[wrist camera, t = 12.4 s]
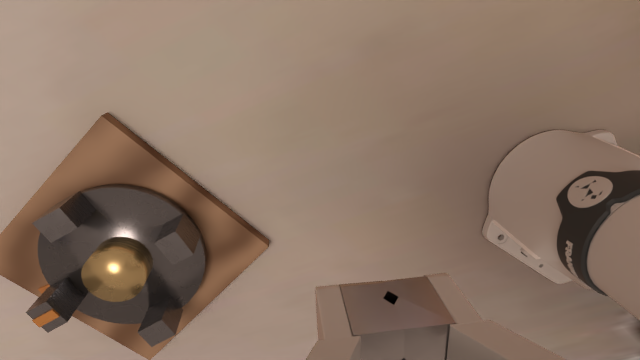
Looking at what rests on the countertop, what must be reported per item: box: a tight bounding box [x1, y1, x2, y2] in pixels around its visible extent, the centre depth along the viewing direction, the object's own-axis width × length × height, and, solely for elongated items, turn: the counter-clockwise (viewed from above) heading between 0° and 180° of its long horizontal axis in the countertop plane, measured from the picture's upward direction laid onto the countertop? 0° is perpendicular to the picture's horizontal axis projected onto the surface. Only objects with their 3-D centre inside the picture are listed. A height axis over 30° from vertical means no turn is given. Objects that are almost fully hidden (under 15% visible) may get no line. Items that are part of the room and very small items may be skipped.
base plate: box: [0, 113, 269, 360], centre depth 44 cm, size 22×22×2 cm
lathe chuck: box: [26, 184, 206, 347], centre depth 41 cm, size 17×17×5 cm
